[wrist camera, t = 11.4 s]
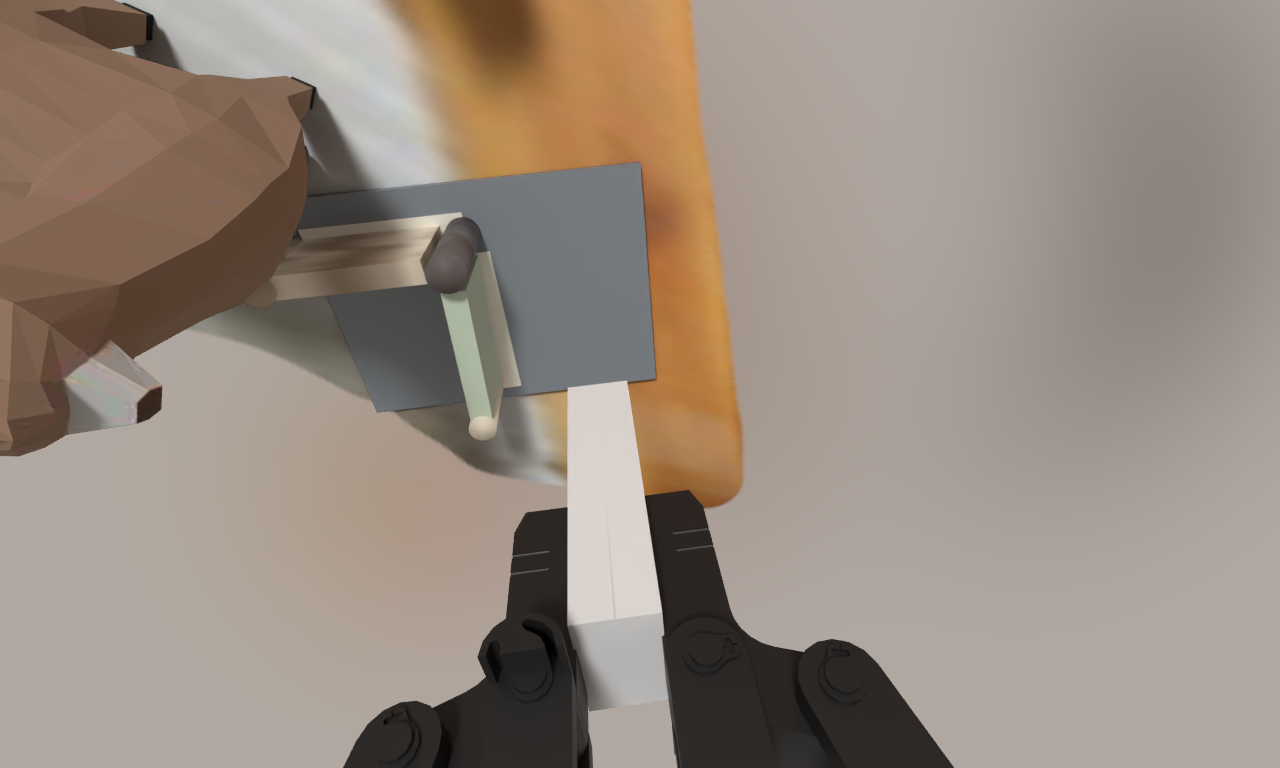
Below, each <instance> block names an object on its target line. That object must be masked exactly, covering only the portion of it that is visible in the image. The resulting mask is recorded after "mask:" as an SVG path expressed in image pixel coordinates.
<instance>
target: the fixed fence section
mask: <svg viewBox="0 0 1280 768" xmlns="http://www.w3.org/2000/svg"><path fill="white" fill-rule="evenodd" d="M480 240H481V231H480V228H479V226H478V225H477V224H476V223H475V222H474V221H473V220H471V219H469V218H467V217H459V218H455V219H453V220H451V221H450V222H449V224H448V225H447V227H446V229H445V231H444V233H443V235H442V233H441V229H440V226H439V225H437V226H428V227H419V228H410V229H400V230H391V231H382V232H373V233H363V234H354V235H345V236H336V237H326V238H317V239H308V240H302V239H301V238H292V239H291V241H290V243H289V245H288V247H287V249H286V251H285V253H284V255H283V257H282V259H281V261H280V263H279V265H278V267H277V269H276V271H275V272H274V274H273V276H272V278H270V279H269V280H268V281H266V282H265V283H264V284H262V285H261V286H260V287H258V288H257V289H256V290H255V291H254V292H253V293H252V294H251V295H250V296H249V297H248V298H247V299H246V300H245V301H244V303H245V304H246V305H248V306H250V307H252V308H256V309H265V308H268V307H269V306H271V305H272V304H273V303H274V301H281V300H290V299H299V298H308V297H317V296H326V295H335V294H344V293H353V292H361V291H370V290H379V289H388V288H397V287H406V286H415V285H424V284H429V286H430V287H431V288H432V289H434V290H435V291H437V292H439V293H443V294H453V293H456V292H458V291H460V290H461V289H462V288H463V286H464V284H465V282H466V279H467V276H468V273H469V270H470V268H471V265H472V262H473V259H474V257H475V254H476V251H477V248H478V245H479V243H480Z"/></svg>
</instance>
